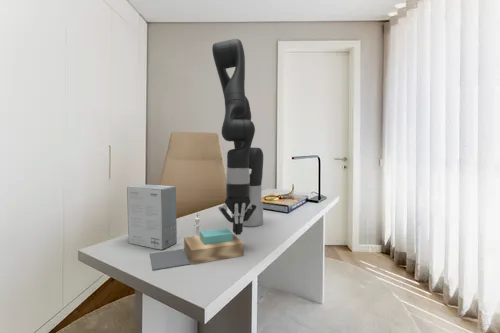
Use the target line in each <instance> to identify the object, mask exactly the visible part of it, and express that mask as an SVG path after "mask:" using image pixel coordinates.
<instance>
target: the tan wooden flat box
mask: <svg viewBox="0 0 500 333" xmlns="http://www.w3.org/2000/svg"><path fill="white" fill-rule="evenodd" d="M244 246H245V244H244V242H243V241H242V240H241V239H239V238H238V237H237V235H236V234H235V233H233V241H229V242H222V243H215V244H208V245H204V244H203V242H202V241H201V240H200V236H195V235H194V236H187V237H183V251H184V253H185V255H186V257H187V259H188V261H189V263H190V265H196V264H200V263H208V262H214V261H220V260H225V259H226V260H227V259H232V258H238V257H239V258H240V257H244V251H245V250H244V249H245V248H244Z"/></svg>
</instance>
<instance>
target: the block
mask: <svg viewBox="0 0 500 333" xmlns="http://www.w3.org/2000/svg"><path fill="white" fill-rule="evenodd" d="M199 232H200V240H201V241H202V242H203V244H204V245H208V244H215V243H222V242H229V241H233V234H234V232H233V233H232V232H231V231H230V230H229V229H228V228H227V227H226V228H217V229H210V230H209V229H208V230H199Z"/></svg>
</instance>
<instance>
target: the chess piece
mask: <svg viewBox="0 0 500 333" xmlns="http://www.w3.org/2000/svg"><path fill="white" fill-rule="evenodd" d="M194 216H195V217H194V222H195V224H194V227H195V232H194V233H195V235H194V236H200V226H201V224H200V221H201V214H199V212H196V214H194Z"/></svg>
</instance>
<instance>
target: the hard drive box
mask: <svg viewBox="0 0 500 333" xmlns="http://www.w3.org/2000/svg"><path fill="white" fill-rule="evenodd" d="M126 196H127V197H126V199H127V226H128V227H127V230H128V231H127V232H128V233H127V235H128V244H131V245H136V246H140V247H141V246H142V247H144V248H145V247H147V248H151V249H155V250H156V249H157V250H160V251H161V250H164V249H167V248H168V247H169V248H170V247H171V246H173V245H175V244H177V242H178V240H177V239H178V238H177V237H178V236H177V235H178V232H177V231H178V229H177V226H178V225H177V224H178V223H177V186H173V185H159V184H158V185H157V184H145V183H144V184H143V183H142V184H137V185H130V186H127V187H126Z"/></svg>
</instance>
